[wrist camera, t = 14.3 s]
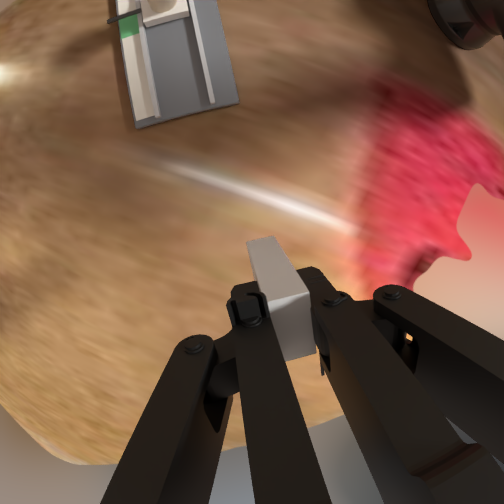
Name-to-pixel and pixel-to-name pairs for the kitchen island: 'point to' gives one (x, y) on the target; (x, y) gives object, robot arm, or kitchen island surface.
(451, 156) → the kitchen island surface
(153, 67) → the board
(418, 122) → the kitchen island surface
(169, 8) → the tuning slider
